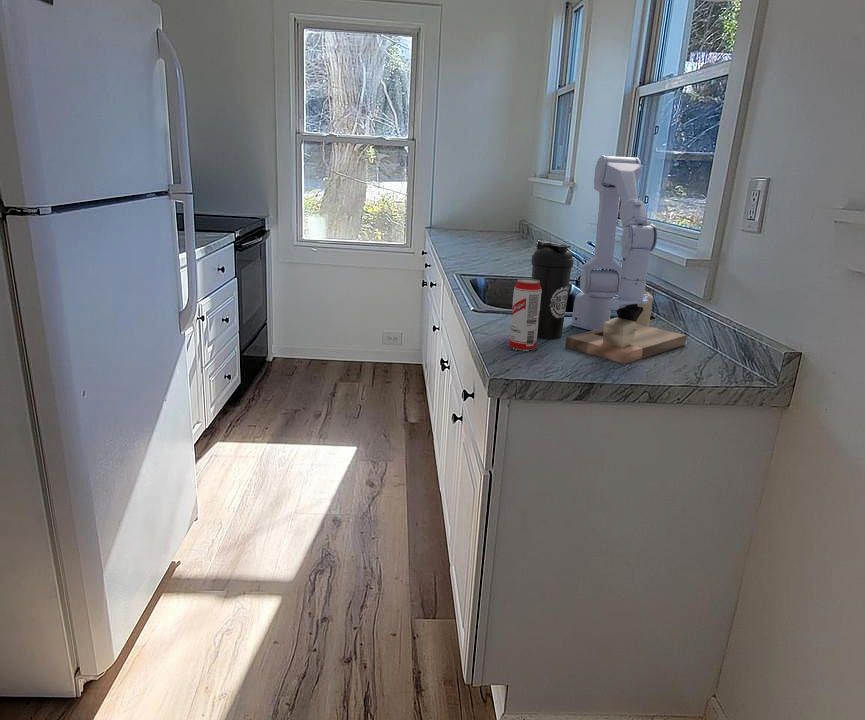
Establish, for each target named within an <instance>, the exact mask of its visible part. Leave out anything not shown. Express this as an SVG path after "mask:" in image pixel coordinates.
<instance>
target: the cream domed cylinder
mask: <svg viewBox="0 0 865 720" xmlns="http://www.w3.org/2000/svg"><path fill="white" fill-rule="evenodd" d="M644 294H646V295H650V302H649V303H648V304H638V307H643V312H642V313H641V314H640V316H639V317H638V319H637V321H636V324H640V325H644V326H649V327H650V321H651V315H652V314H651V313H652V307H653V303H654V302H653V300H654V297H653V295H652V294H651V293H650V292H648V291H647V290H645V293H644Z"/></svg>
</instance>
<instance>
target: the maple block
mask: <svg viewBox="0 0 865 720" xmlns="http://www.w3.org/2000/svg"><path fill="white" fill-rule="evenodd" d="M634 334H635V321H630V320H626V319H622V318H619V317H618V316H617V317H613V318H610V320H609V321H607V322H604V332H603V343H605V344H608V345H612V346H616V347H620V348H623V347H625V346H627V345H629V344H631V343H633V342H634Z"/></svg>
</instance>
